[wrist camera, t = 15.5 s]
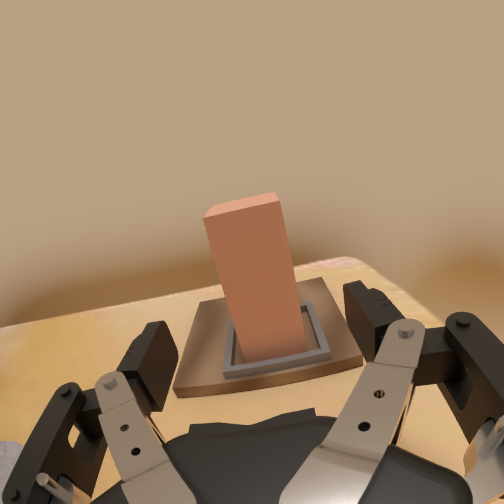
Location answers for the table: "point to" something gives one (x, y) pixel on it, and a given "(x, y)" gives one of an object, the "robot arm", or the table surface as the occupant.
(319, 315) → the brown board
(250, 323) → the terracotta pillar
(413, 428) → the table surface
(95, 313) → the table surface
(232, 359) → the slot frame
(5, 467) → the stone block
